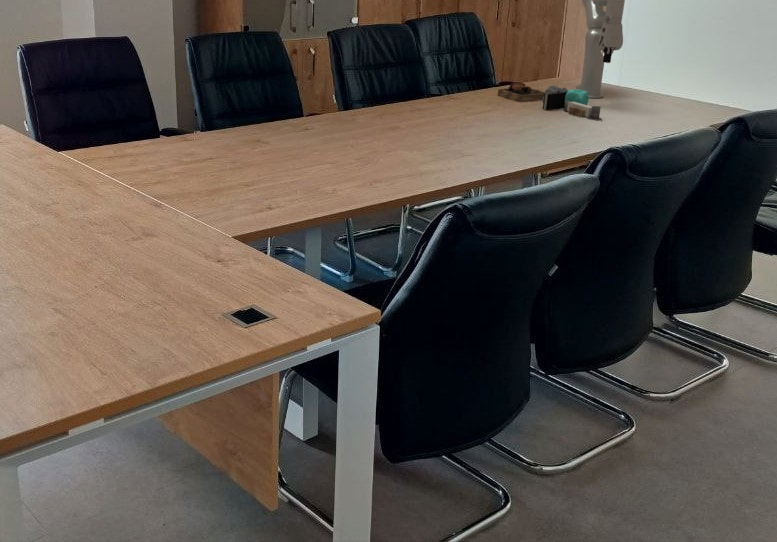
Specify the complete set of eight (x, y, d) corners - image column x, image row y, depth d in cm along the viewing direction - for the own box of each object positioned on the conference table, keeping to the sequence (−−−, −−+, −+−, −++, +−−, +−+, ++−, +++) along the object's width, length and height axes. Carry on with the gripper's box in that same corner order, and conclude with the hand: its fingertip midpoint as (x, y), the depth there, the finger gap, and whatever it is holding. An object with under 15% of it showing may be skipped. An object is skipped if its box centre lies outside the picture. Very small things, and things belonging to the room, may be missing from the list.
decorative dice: (563, 108, 406) (565, 90, 403) (571, 106, 413) (573, 88, 410) (579, 111, 402) (582, 93, 399) (587, 109, 408) (589, 91, 405)
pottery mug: (503, 99, 422) (504, 82, 423) (512, 105, 430) (513, 89, 431) (527, 96, 415) (528, 79, 417) (535, 103, 423) (536, 86, 424)
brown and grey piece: (568, 113, 396) (570, 101, 394) (579, 112, 400) (581, 100, 398) (593, 121, 385) (595, 108, 383) (604, 119, 388) (606, 107, 386)
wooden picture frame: (497, 95, 427) (498, 89, 426) (526, 93, 436) (527, 87, 435) (520, 102, 414) (520, 95, 413) (549, 99, 424) (550, 93, 423)
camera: (555, 105, 414) (558, 82, 410) (567, 107, 409) (570, 85, 405) (535, 108, 404) (538, 85, 400) (547, 111, 399) (550, 88, 396)
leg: (593, 116, 392) (594, 107, 390) (587, 117, 390) (588, 107, 388) (568, 109, 404) (569, 100, 402) (562, 109, 402) (563, 100, 401)
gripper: (607, 22, 396) (600, 64, 403) (631, 21, 404) (624, 63, 411) (594, 19, 402) (588, 61, 409) (618, 18, 409) (612, 59, 417)
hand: (606, 62), depth 410 cm, fingers closed
